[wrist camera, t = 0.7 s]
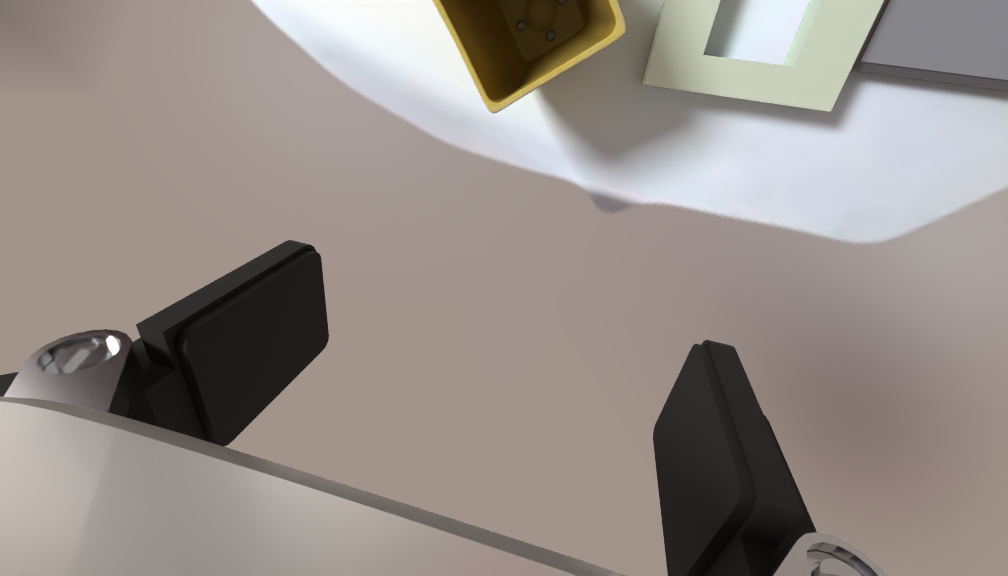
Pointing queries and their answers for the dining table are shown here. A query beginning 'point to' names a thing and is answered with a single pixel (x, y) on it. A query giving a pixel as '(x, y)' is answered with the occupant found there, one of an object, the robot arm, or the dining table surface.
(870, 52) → the phone slab
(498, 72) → the flower pot
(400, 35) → the dining table surface
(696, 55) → the outlet plate
